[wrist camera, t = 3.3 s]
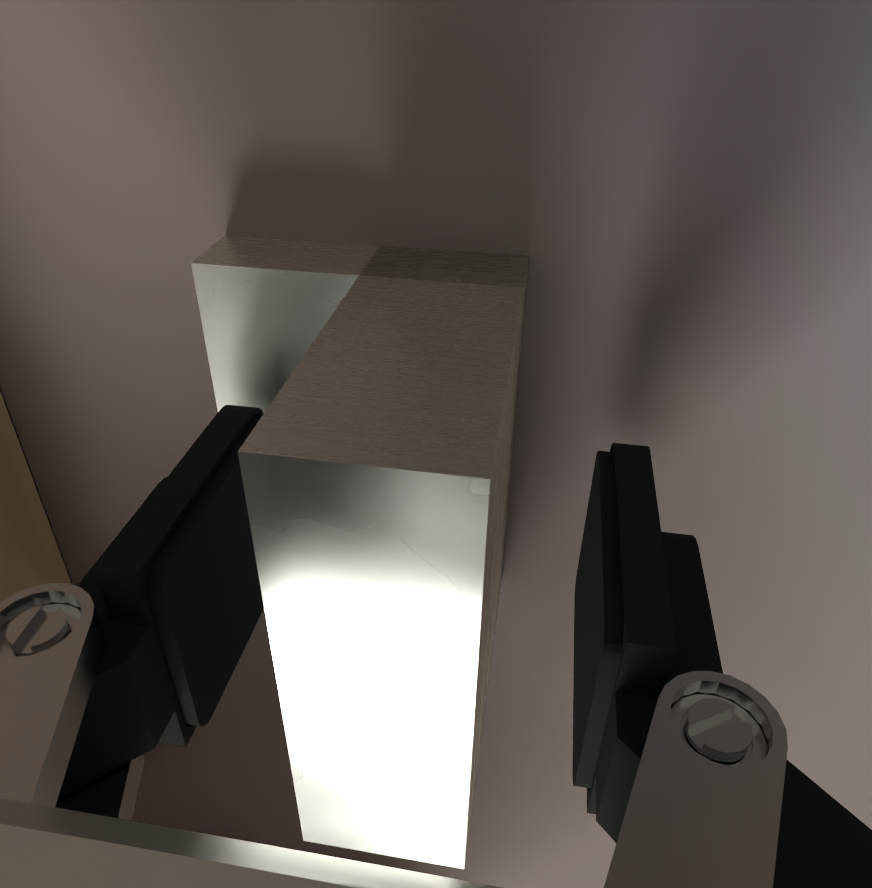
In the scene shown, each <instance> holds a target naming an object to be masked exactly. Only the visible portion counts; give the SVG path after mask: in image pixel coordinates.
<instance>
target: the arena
mask: <svg viewBox="0 0 872 888" xmlns="http://www.w3.org/2000/svg"><path fill="white" fill-rule="evenodd" d="M48 583H68V584H71V581H70V578H69V575H68V573H67V570H66V567H65V565H64V562H63V559H62V557H61V554H60V551H59V549H58V546H57V543H56V540H55V538H54V535H53V532H52V530H51V527H50V524H49V522H48V519H47V516H46V513H45V511H44V508H43V505H42V503H41V500H40V497H39V495H38V492H37V489H36V487H35V484H34V481H33V478H32V476H31V473H30V470H29V468H28V465H27V462H26V460H25V457H24V454H23V451H22V449H21V446H20V443H19V441H18V438H17V435H16V433H15V430H14V427H13V425H12V422H11V419H10V416H9V414H8V411H7V408H6V406H5V403H4V400H3V398H2V395H1V392H0V602H1V601H3V600H4V599H6V598H8V597H9V596H11V595H13V594H15V593H17V592H19V591H22V590H25V589H27V588H30V587H33V586H37V585H43V584H48ZM71 585H72V584H71Z"/></svg>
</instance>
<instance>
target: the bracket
mask: <svg viewBox="0 0 872 888" xmlns="http://www.w3.org/2000/svg"><path fill="white" fill-rule="evenodd" d="M528 265H529V256H521V255H507V254H492V253H477V252H463V251H448V250H433V249H419V248H404V247H389V246H375V245H360V244H345V243H331V242H316V241H301V240H287V239H272V238H257V237H243V236H228V235H226V236H224V237H223V238H222V239H221V240H219V241H218V242H217V243H216V244H214V245H213V246H212V247H211V248H209V249H208V250H207V251H205V252H204V253H203V254H202V255H200V256H199V257H198V258H197V259H195V260H194V261H193V262H192V263H191V266H192V271H193V277H194V283H195V288H196V294H197V299H198V305H199V310H200V316H201V321H202V327H203V332H204V338H205V343H206V349H207V354H208V360H209V365H210V371H211V377H212V382H213V388H214V393H215V399H216V404H217V410H218V412H219V411H220V410H221V408H222V407H224V406H225V405H236V406H246V407H256V408H260V409H261V410H262V411H263V413H264V414H263V416H262V417H261V419H260V420H259V421H258V423H257V424H256V426H255V427H254V429H253V430H252V432H251V433H250V435H249V436H248V437H247V439H246V440H245V442H244V443H243V445H242V446H241V448H240V449H239V450H238V457H239V463H240V469H241V475H242V481H243V486H244V492H245V498H246V504H247V510H248V516H249V522H250V528H251V534H252V540H253V546H254V551H255V557H256V563H257V569H258V575H259V581H260V587H261V593H262V599H263V605H264V611H265V616H266V622H267V628H268V634H269V640H270V646H271V652H272V658H273V664H274V670H275V676H276V681H277V687H278V693H279V699H280V705H281V711H282V717H283V723H284V729H285V735H286V741H287V746H288V752H289V758H290V764H291V770H292V776H293V782H294V788H295V794H296V800H297V806H298V811H299V817H300V823H301V829H302V835H303V841H308V842H313V843H319V844H325V845H330V846H336V847H342V848H347V849H353V850H358V851H364V852H370V853H375V854H381V855H387V856H392V857H398V858H403V859H409V860H415V861H420V862H426V863H431V864H437V865H443V866H448V867H454V868H460V869H464V867H465V859H466V851H467V843H468V836H469V828H470V820H471V812H472V805H473V797H474V789H475V781H476V774H477V766H478V758H479V750H480V743H481V735H482V727H483V719H484V712H485V704H486V696H487V688H488V681H489V673H490V665H491V657H492V650H493V642H494V634H495V626H496V619H497V611H498V603H499V595H500V588H501V580H502V568H503V557H504V545H505V533H506V522H507V510H508V498H509V487H510V475H511V463H512V452H513V440H514V428H515V417H516V405H517V393H518V382H519V370H520V358H521V347H522V335H523V323H524V312H525V300H526V288H527V277H528Z"/></svg>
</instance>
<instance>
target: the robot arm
mask: <svg viewBox="0 0 872 888" xmlns="http://www.w3.org/2000/svg"><path fill="white" fill-rule="evenodd" d="M263 414H264V413H263V411H262V410H261V409H260V408H256V407H246V406H236V405H225V406H224V407H222V408H221V410H220V411H219V412H218V413H217V415H216V416H215V417H214V419H213V420H212V421H211V422H210V424H209V425H208V426H207V427H206V429H205V430H204V431H203V433H202V434H201V435H200V436H199V438H198V439H197V440H196V441H195V443H194V444H193V445H192V447H191V448H190V449H189V450H188V452H187V453H186V454H185V456H184V457H183V458H182V459H181V461H180V462H179V463H178V464H177V466H176V467H175V468H174V470H173V471H172V472H171V473H170V475H169V476H168V477H167V478H164V479H163V480H162V481H161V482H160V483H159V484H158V485H157V486H156V487H155V489H154V490H153V491H152V493H151V494H150V495H149V496H148V498H147V499H146V500H145V501H144V503H143V504H142V505H141V506H140V508H139V509H138V510H137V511H136V513H135V514H134V515H133V517H132V518H131V519H130V520H129V522H128V523H127V524H126V525H125V527H124V528H123V529H122V530H121V532H120V533H119V534H118V535H117V537H116V538H115V539H114V541H113V542H112V543H111V544H110V546H109V547H108V548H107V549H106V551H105V552H104V553H103V554H102V556H101V557H100V558H99V560H98V561H97V562H96V563H95V565H94V566H93V567H92V568H91V570H90V571H89V572H88V573H87V575H86V576H85V577H84V578H83V580H82V581H81V582H80V584H79V585H78V586H75V585H71V584H68V583H48V584H43V585H37V586H33V587H30V588H27V589H25V590H22V591H19V592H17V593H15V594H13V595H11V596H9V597H8V598H6V599H4V600H3V601H1V602H0V888H502V887H496V886H491V885H485V884H480V883H475V882H469V881H464V880H458V879H453V878H447V877H442V876H437V875H431V874H426V873H420V872H415V871H409V870H404V869H399V868H393V867H388V866H382V865H377V864H371V863H366V862H360V861H355V860H349V859H344V858H338V857H332V856H327V855H321V854H316V853H310V852H305V851H299V850H293V849H288V848H282V847H277V846H271V845H266V844H260V843H254V842H249V841H243V840H238V839H232V838H226V837H221V836H215V835H210V834H204V833H198V832H193V831H187V830H181V829H176V828H170V827H165V826H159V825H153V824H148V823H142V822H136V821H132V818H133V813H134V809H135V804H136V799H137V794H138V790H139V785H140V780H141V776H142V771H143V766H144V761H145V753H147V752H149V751H150V750H152V749H154V748H155V747H156V745H157V743H164V744H170V745H176V746H182V747H186V746H187V744H188V742H189V740H190V738H191V736H192V734H193V732H194V730H195V728H196V726H202V727H203V726H205V725H206V724H207V723H208V722H209V720H210V718H211V717H212V715H213V712H214V710H215V708H216V706H217V704H218V702H219V700H220V698H221V696H222V694H223V692H224V690H225V688H226V685H227V683H228V681H229V679H230V677H231V675H232V673H233V671H234V669H235V667H236V665H237V663H238V661H239V659H240V656H241V654H242V652H243V650H244V648H245V646H246V644H247V642H248V640H249V638H250V636H251V634H252V632H253V630H254V627H255V625H256V623H257V621H258V619H259V617H260V615H261V613H262V611H263V609H264V605H263V599H262V593H261V587H260V581H259V575H258V569H257V563H256V557H255V551H254V546H253V540H252V534H251V528H250V522H249V516H248V510H247V504H246V498H245V492H244V486H243V481H242V475H241V469H240V463H239V457H238V450H239V449H240V448H241V446H242V445H243V443H244V442H245V440H246V439H247V437H248V436H249V435H250V433H251V432H252V430H253V429H254V427H255V426H256V424H257V423H258V421H259V420H260V419H261V417H262V416H263ZM787 750H788V743H787V732H786V728H785V726H784V724H783V722H782V719H781V717H780V715H779V713H778V712H777V710H776V709H775V708H774V707H773V706H772V704H771V703H770V702H769V701H768V700H767V698H766V697H765V696H763V695H762V694H761V693H759V692H758V691H757V690H755V689H754V688H753V687H752V686H750V685H749V684H747V683H745V682H743V681H741V680H738V679H736V678H734V677H732V676H730V675H726V674H723V671H722V666H721V661H720V656H719V651H718V646H717V641H716V635H715V630H714V625H713V620H712V615H711V610H710V604H709V599H708V594H707V589H706V584H705V579H704V574H703V568H702V563H701V558H700V553H699V548H698V544H697V541H696V538H695V537H694V536H692V535H684V534H675V533H666V532H661V528H660V520H659V513H658V506H657V498H656V491H655V483H654V476H653V469H652V461H651V454H650V449H649V447H648V446H639V445H629V444H619V443H613V444H612V446H611V449H610V452H606V451H598V452H597V455H596V461H595V467H594V473H593V479H592V485H591V491H590V497H589V503H588V510H587V516H586V522H585V528H584V534H583V540H582V546H581V552H580V558H579V564H578V570H577V577H576V585H575V613H574V700H573V785H574V786H579V787H585V788H587V813H592V814H596V821H597V822H598V823H599V824H600V826H601V827H602V828H603V829H604V830H605V831H606V832H607V833H608V834H609V835H610V837H611V838H612V839H613V840H614V841H615V842H616V847H615V850H614V854H613V857H612V861H611V864H610V868H609V871H608V875H607V878H606V882H605V885H604V888H872V830H871V829H870V828H868V827H867V826H866V825H865V824H864V823H862V822H861V821H860V820H859V819H858V818H856V817H855V816H854V815H853V814H852V813H850V812H849V811H848V810H847V809H846V808H844V807H843V806H842V805H841V804H840V803H838V802H837V801H836V800H835V799H834V798H832V797H831V796H830V795H829V794H828V793H826V792H825V791H824V790H823V789H822V788H820V787H819V786H818V785H817V784H816V783H814V782H813V781H812V780H811V779H810V778H808V777H807V776H806V775H805V774H804V773H802V772H801V771H800V770H799V769H797V768H796V767H795V766H794V765H793V764H791V763H790V762H789V761H788V760H787Z"/></svg>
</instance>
